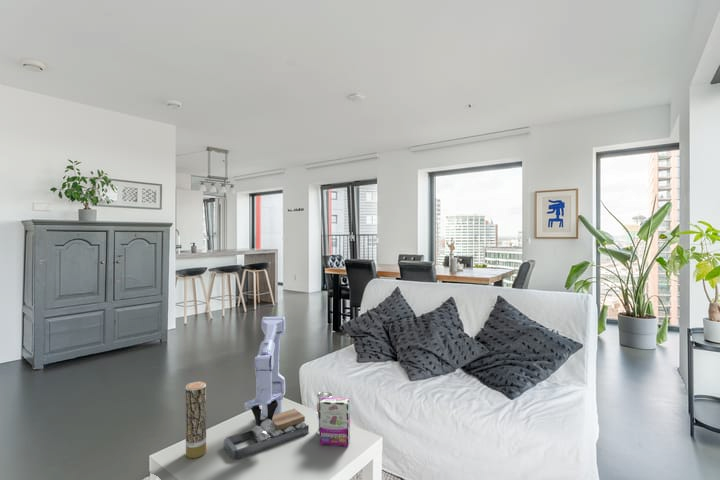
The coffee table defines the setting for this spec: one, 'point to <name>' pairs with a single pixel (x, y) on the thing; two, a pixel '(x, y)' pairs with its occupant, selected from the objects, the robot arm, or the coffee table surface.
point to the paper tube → (195, 419)
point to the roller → (266, 423)
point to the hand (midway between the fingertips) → (264, 423)
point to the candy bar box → (334, 421)
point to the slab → (287, 419)
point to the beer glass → (318, 399)
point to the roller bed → (262, 439)
